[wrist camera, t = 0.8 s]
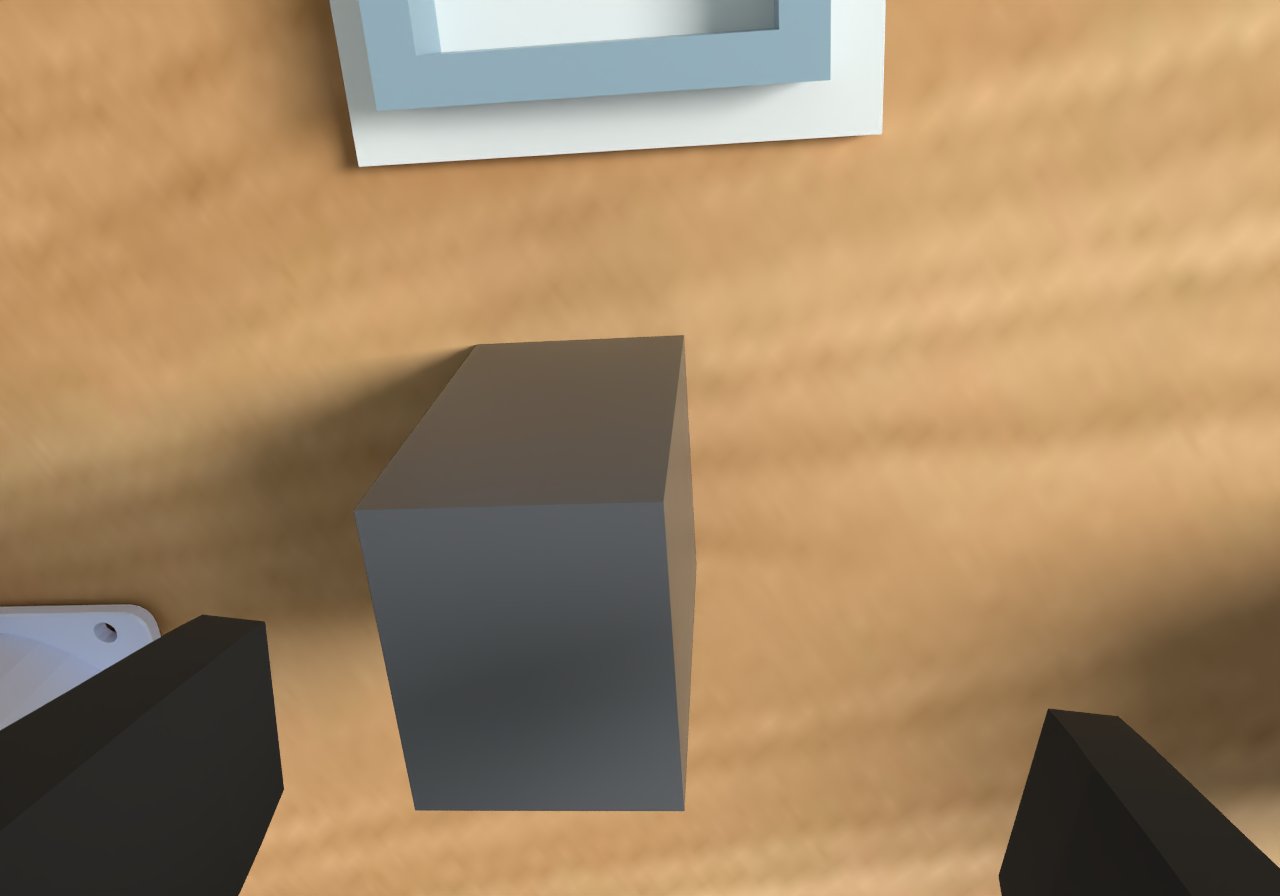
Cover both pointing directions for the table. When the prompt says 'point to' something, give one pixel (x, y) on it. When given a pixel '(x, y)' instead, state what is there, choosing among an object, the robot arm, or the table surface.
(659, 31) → the socket dock
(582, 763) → the plug
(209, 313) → the table surface
